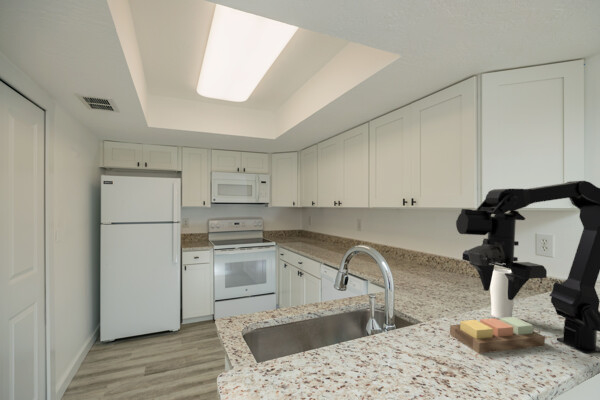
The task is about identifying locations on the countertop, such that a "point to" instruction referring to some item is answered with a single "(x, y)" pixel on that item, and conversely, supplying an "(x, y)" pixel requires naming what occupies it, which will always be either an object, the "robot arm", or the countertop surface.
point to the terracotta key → (498, 327)
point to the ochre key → (476, 329)
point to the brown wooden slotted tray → (498, 341)
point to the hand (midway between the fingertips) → (497, 294)
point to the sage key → (518, 325)
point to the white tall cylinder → (500, 294)
